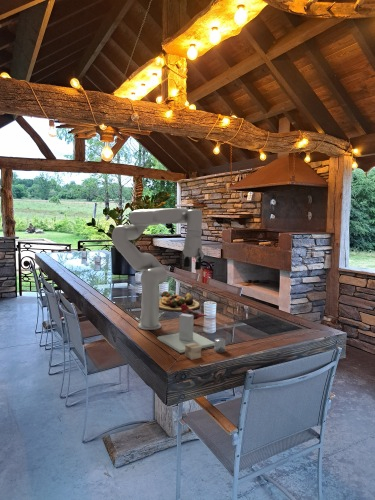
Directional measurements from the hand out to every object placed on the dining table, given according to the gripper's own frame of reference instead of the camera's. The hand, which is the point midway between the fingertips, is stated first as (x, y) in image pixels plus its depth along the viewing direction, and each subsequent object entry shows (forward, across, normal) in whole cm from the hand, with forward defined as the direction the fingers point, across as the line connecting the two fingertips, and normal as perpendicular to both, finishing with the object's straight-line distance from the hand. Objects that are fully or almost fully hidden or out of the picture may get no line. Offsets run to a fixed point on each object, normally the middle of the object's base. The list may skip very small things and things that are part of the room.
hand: (192, 268), depth 180 cm
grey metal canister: (+34, +25, 0) cm, 43 cm away
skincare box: (+33, +9, -8) cm, 35 cm away
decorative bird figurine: (+34, -15, +13) cm, 40 cm away
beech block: (+34, +25, -16) cm, 45 cm away
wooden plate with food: (+35, -53, +27) cm, 69 cm away
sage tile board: (+34, +9, -8) cm, 36 cm away
